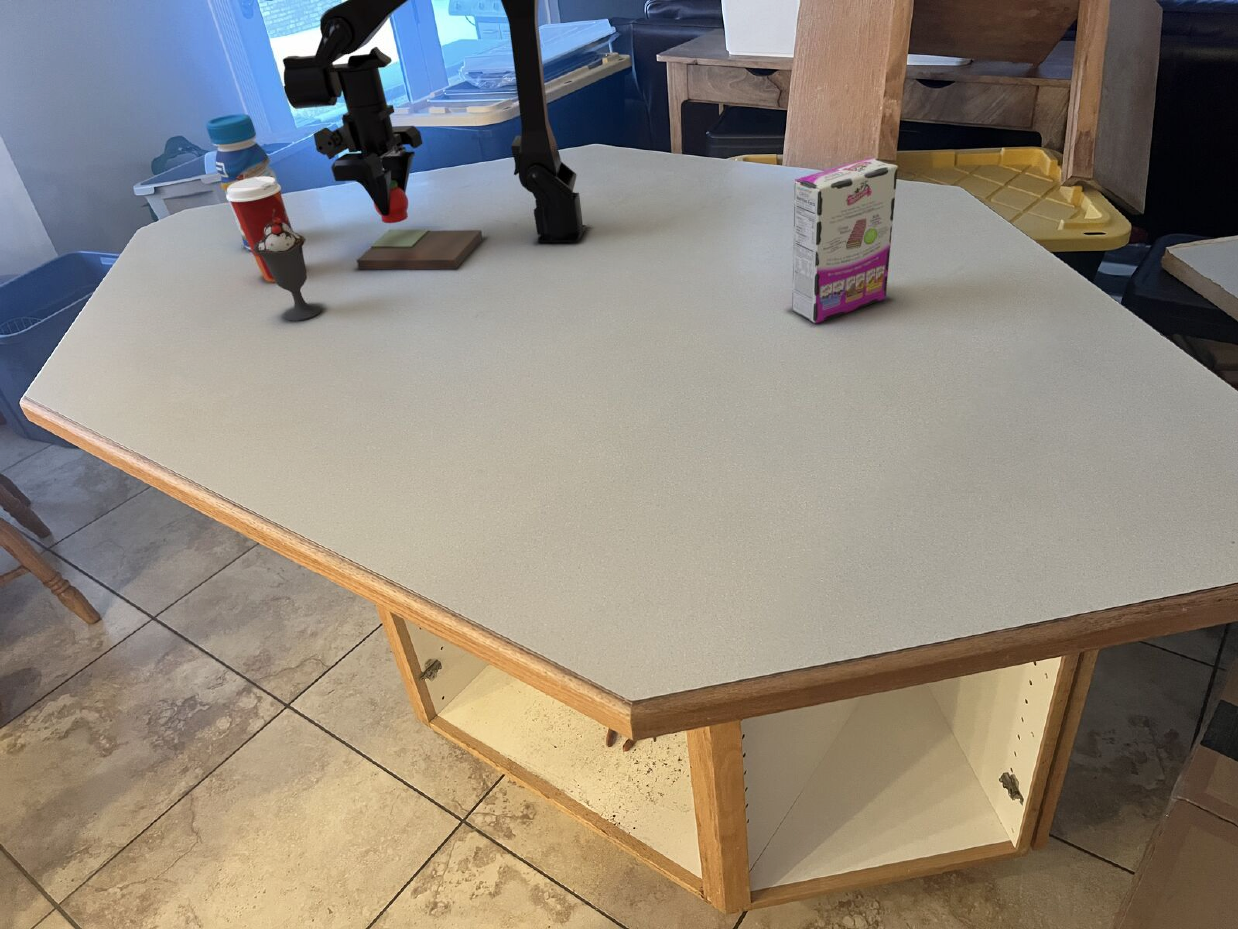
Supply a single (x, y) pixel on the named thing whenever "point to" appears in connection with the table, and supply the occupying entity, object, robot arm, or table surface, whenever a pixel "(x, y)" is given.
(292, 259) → the sundae
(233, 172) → the beverage bottle
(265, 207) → the paper cup
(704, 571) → the table surface
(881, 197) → the candy bar box
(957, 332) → the table surface
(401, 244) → the board
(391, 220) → the red rounded piece
